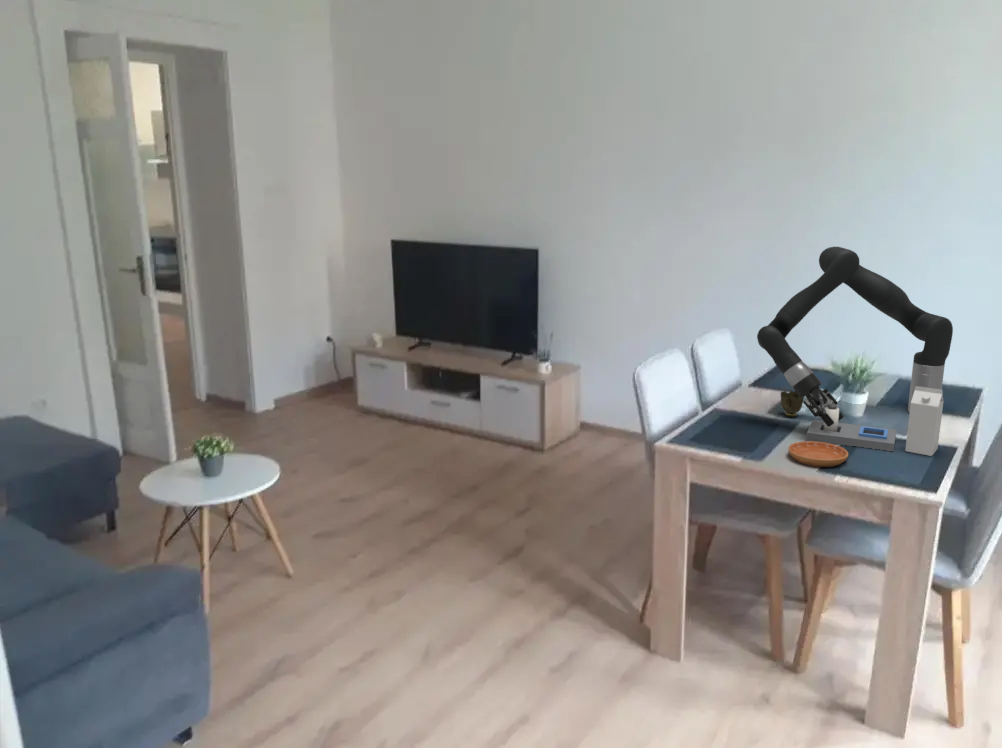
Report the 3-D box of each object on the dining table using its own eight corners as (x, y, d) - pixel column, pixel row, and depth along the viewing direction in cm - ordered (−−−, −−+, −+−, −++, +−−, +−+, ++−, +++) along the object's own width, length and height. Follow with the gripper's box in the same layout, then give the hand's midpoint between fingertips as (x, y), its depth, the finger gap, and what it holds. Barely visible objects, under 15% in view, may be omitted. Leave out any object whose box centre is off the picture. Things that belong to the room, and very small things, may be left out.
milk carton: (910, 445, 236) (918, 383, 231) (937, 449, 231) (945, 387, 227) (904, 451, 231) (912, 389, 226) (931, 456, 226) (939, 393, 221)
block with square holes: (812, 427, 253) (813, 417, 253) (895, 437, 242) (896, 427, 242) (806, 440, 241) (807, 430, 241) (893, 451, 230) (894, 441, 230)
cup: (783, 419, 261) (785, 396, 259) (775, 413, 268) (777, 390, 266) (806, 419, 261) (808, 396, 259) (797, 412, 268) (799, 389, 266)
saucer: (782, 449, 235) (782, 440, 234) (837, 450, 233) (838, 441, 233) (795, 469, 220) (796, 459, 219) (855, 470, 218) (856, 460, 217)
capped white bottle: (823, 433, 247) (826, 402, 245) (837, 435, 245) (840, 404, 243) (822, 437, 244) (824, 406, 241) (836, 439, 242) (839, 407, 240)
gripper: (801, 376, 240) (837, 421, 235) (820, 367, 250) (854, 410, 245) (783, 390, 245) (817, 434, 240) (802, 381, 255) (836, 423, 250)
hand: (836, 421), depth 242 cm, fingers open, 7 cm apart
